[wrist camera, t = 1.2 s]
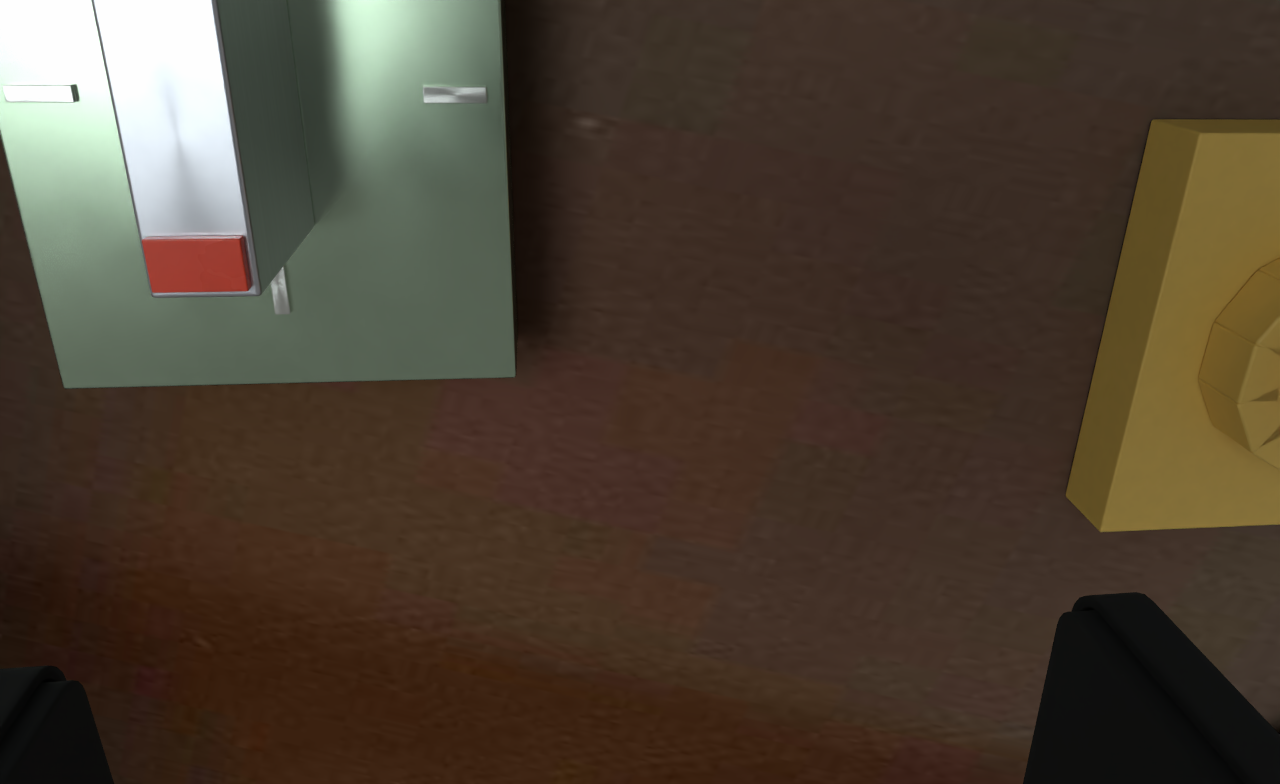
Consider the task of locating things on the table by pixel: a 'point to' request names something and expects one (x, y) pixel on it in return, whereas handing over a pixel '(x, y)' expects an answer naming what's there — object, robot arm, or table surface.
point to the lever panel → (340, 193)
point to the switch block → (1191, 340)
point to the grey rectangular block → (208, 139)
